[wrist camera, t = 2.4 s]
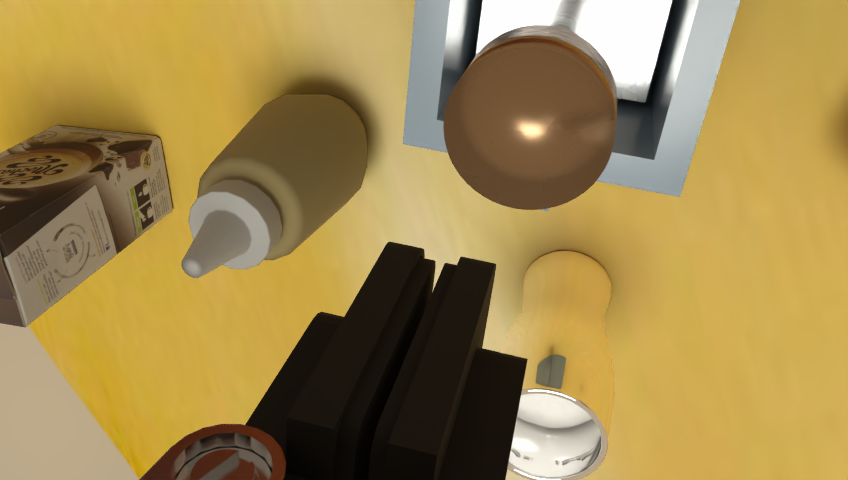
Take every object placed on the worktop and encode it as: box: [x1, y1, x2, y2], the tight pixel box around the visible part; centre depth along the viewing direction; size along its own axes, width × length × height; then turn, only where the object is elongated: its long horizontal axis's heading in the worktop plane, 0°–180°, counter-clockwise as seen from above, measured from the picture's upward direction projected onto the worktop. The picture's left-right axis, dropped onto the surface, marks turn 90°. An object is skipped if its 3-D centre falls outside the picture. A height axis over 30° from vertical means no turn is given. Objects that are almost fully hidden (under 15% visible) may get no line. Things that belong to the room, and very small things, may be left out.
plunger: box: [443, 0, 672, 210], centre depth 27 cm, size 8×8×18 cm
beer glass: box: [499, 251, 614, 480], centre depth 45 cm, size 7×7×15 cm
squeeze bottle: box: [182, 94, 367, 278], centre depth 43 cm, size 8×8×18 cm
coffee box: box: [0, 125, 172, 327], centre depth 49 cm, size 9×6×16 cm
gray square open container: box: [403, 0, 740, 211], centre depth 36 cm, size 12×15×15 cm
